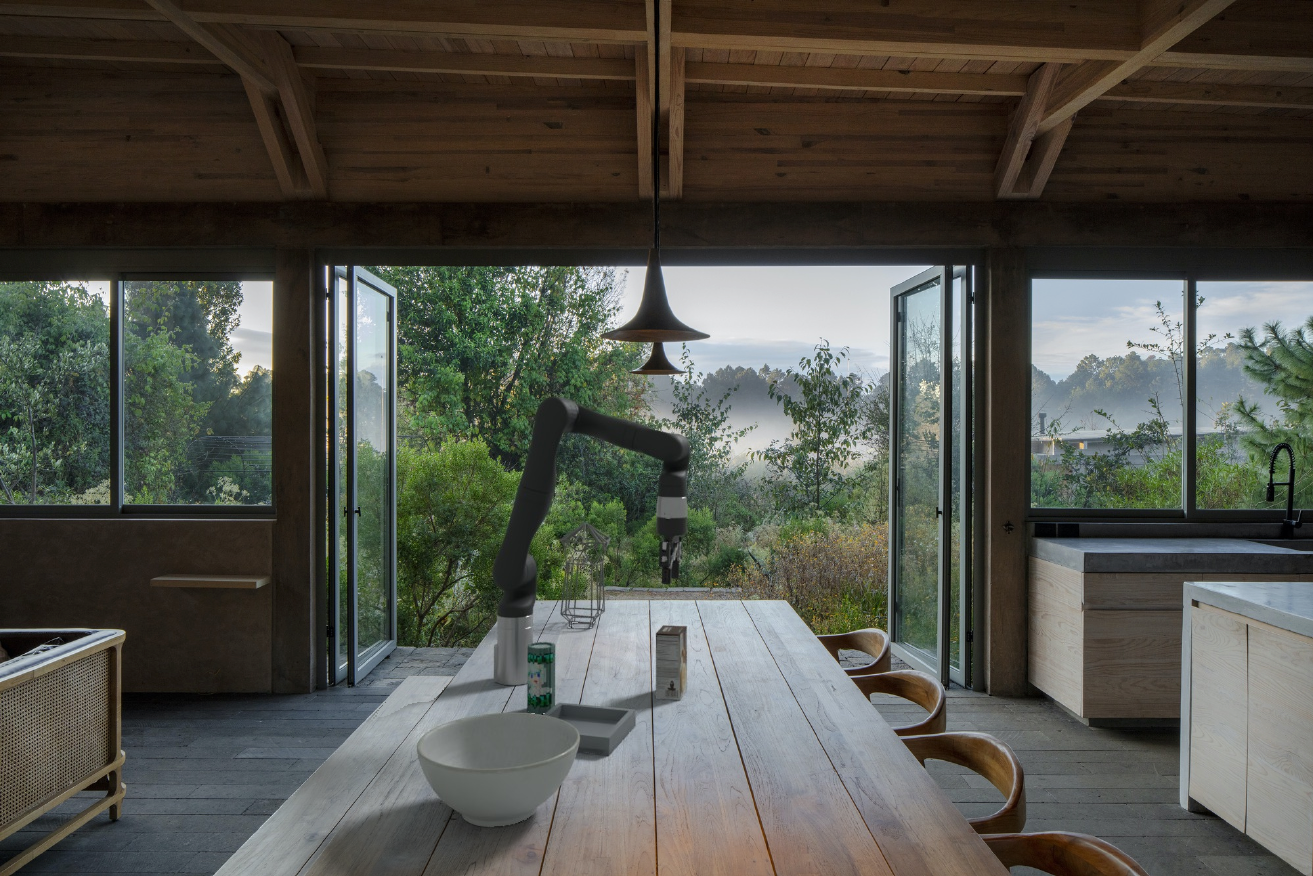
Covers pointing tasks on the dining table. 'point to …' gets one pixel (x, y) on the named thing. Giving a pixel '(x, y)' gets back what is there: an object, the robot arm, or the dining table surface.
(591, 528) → the geometric lantern
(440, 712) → the dining table surface
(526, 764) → the decorative bowl
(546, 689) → the can
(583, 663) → the dining table surface
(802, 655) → the dining table surface
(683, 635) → the coffee box
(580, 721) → the tray
